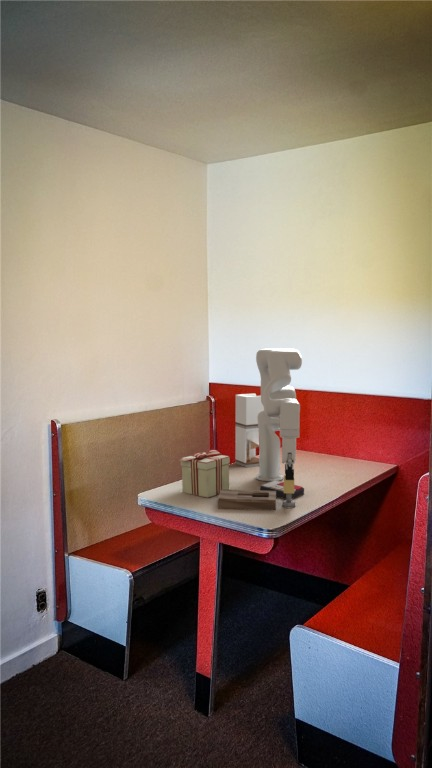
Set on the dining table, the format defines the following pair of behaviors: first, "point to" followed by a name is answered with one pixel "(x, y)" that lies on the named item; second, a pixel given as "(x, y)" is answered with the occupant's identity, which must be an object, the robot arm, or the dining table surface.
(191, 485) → the gift box
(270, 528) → the dining table surface
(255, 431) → the white slotted tower
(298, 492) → the calculator
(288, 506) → the peg
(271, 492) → the keyhole board
